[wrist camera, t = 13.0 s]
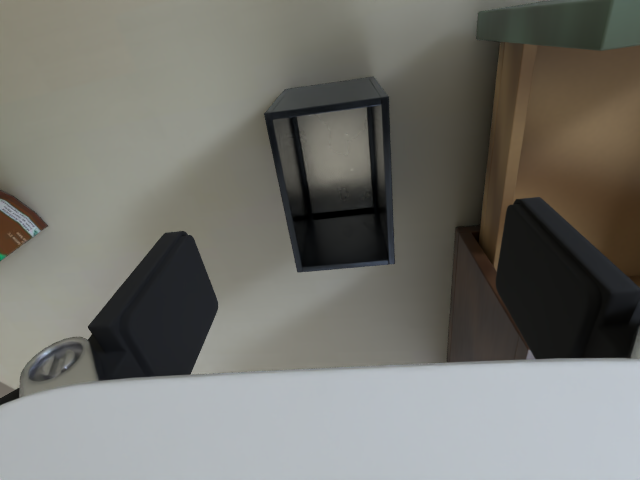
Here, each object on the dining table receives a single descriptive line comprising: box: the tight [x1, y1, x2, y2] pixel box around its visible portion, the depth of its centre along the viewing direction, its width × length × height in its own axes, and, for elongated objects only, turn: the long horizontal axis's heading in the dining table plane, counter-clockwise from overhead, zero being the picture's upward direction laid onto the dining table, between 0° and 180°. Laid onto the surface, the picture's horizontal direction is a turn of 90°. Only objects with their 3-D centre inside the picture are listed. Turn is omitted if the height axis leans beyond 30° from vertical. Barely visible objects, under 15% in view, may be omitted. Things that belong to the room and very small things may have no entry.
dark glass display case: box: [264, 77, 395, 272], centre depth 19 cm, size 8×5×6 cm, turn 8°
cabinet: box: [447, 225, 535, 363], centre depth 23 cm, size 17×14×11 cm
